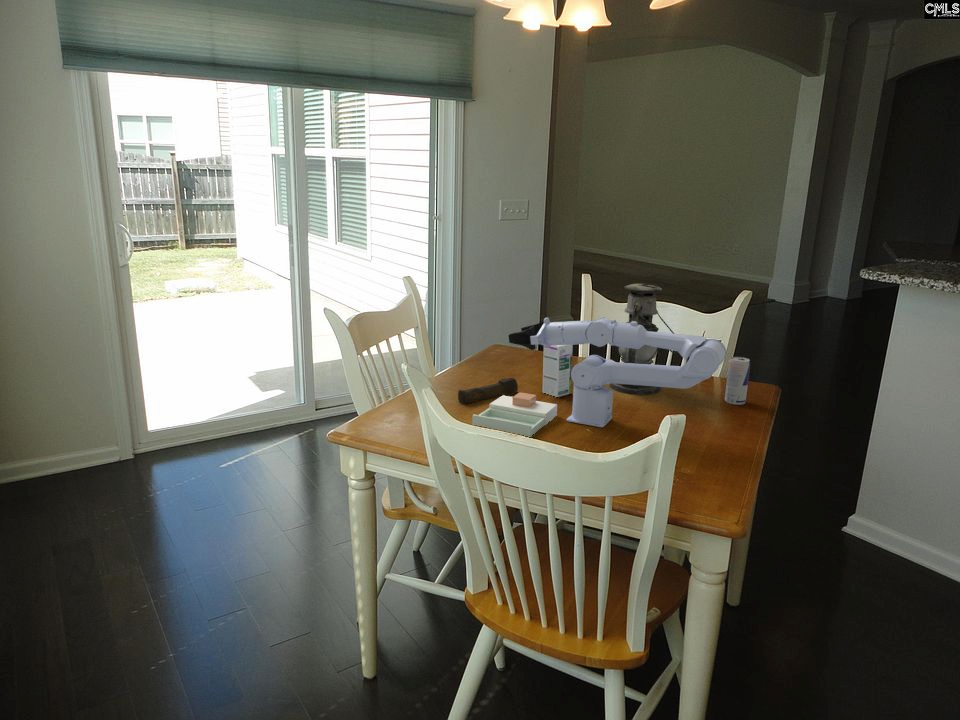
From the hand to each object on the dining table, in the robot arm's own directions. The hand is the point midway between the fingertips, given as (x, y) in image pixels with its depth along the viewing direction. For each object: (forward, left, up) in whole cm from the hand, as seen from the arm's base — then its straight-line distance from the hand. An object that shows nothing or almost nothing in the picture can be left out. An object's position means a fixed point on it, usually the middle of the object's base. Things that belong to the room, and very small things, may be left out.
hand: (515, 335), depth 178 cm
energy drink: (-51, -33, -19) cm, 63 cm away
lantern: (-26, -33, -19) cm, 46 cm away
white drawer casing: (-5, +5, -19) cm, 20 cm away
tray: (-5, +14, -19) cm, 24 cm away
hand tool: (+9, -4, -20) cm, 22 cm away
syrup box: (-6, -16, -19) cm, 26 cm away
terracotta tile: (-5, +5, -16) cm, 18 cm away
